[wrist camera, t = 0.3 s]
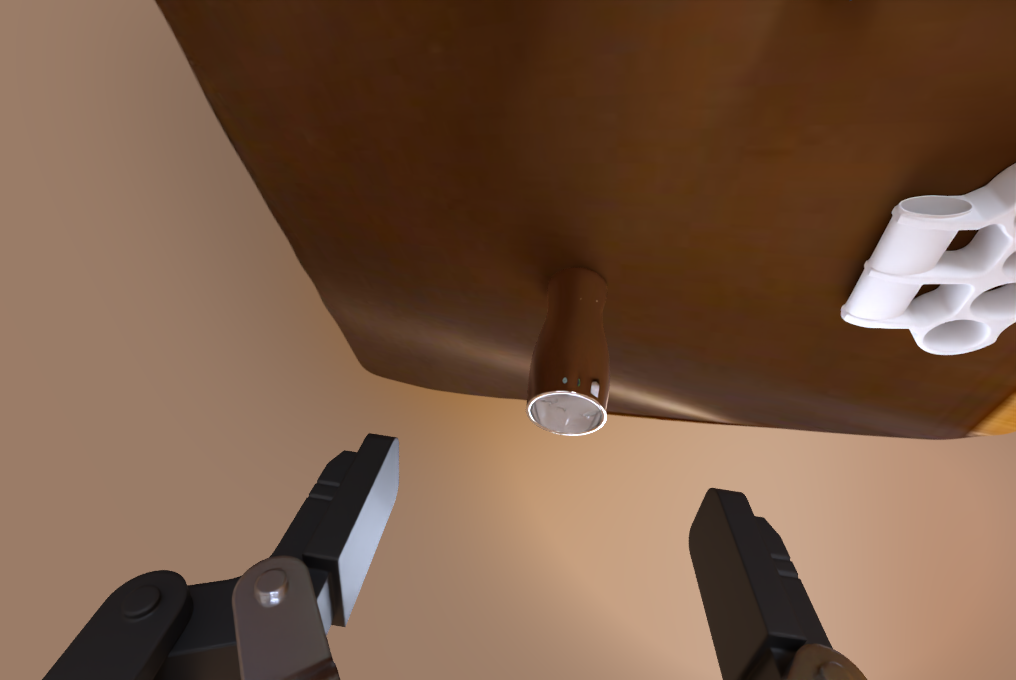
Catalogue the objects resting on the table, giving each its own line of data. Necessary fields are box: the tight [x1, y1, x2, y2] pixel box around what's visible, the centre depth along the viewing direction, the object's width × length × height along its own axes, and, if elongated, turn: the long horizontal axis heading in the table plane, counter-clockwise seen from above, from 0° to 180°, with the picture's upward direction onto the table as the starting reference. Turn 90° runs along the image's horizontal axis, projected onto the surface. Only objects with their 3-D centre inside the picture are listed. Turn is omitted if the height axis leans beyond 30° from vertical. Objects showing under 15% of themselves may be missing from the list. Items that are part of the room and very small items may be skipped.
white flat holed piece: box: [841, 163, 1016, 355], centre depth 38 cm, size 3×18×15 cm
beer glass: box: [526, 267, 610, 435], centre depth 44 cm, size 7×7×15 cm
